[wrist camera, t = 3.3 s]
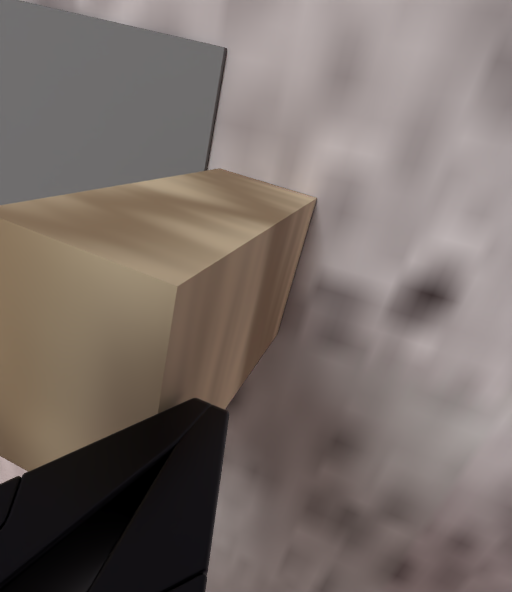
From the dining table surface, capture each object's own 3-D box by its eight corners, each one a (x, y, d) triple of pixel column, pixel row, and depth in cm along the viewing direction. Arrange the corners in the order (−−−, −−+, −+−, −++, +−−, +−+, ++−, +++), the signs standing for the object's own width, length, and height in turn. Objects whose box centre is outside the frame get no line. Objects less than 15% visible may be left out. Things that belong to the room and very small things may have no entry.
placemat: (226, 48, 14) (224, 47, 14) (173, 369, 20) (171, 371, 20) (-38, -13, 17) (-43, -14, 16) (-16, 289, 23) (-19, 290, 23)
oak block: (316, 197, 15) (177, 286, 6) (276, 334, 18) (138, 532, 9) (219, 168, 16) (-24, 209, 7) (195, 302, 18) (-4, 453, 10)
